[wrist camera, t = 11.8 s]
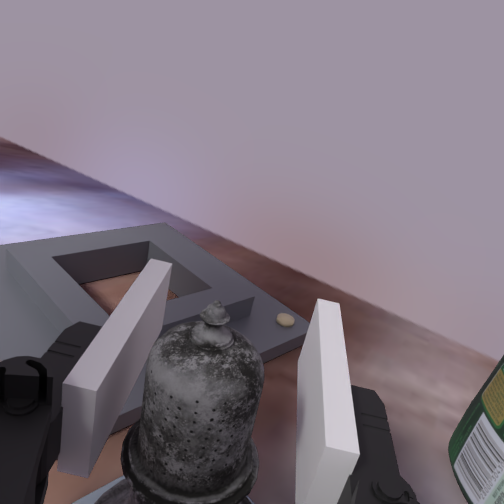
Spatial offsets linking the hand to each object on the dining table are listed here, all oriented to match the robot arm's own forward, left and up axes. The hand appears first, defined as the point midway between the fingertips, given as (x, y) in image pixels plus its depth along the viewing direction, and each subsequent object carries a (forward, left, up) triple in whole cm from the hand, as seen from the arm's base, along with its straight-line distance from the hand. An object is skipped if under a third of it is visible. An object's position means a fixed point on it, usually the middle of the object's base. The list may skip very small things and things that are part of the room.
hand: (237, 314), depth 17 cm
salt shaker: (+3, -4, -9) cm, 10 cm away
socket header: (-14, +5, -9) cm, 17 cm away
